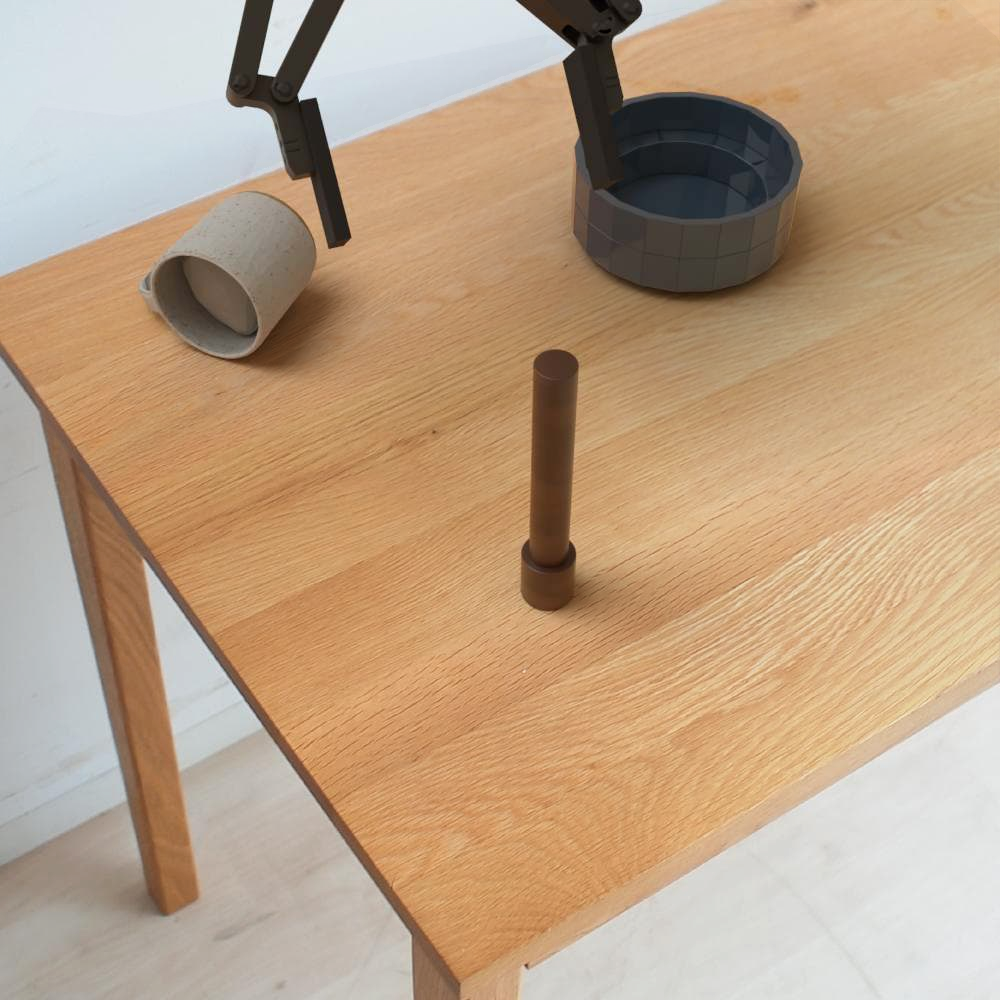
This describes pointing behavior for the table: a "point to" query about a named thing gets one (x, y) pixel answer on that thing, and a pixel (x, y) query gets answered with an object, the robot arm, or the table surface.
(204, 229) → the ceramic mug
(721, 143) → the bowl
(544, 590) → the brown pestle
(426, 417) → the table surface
